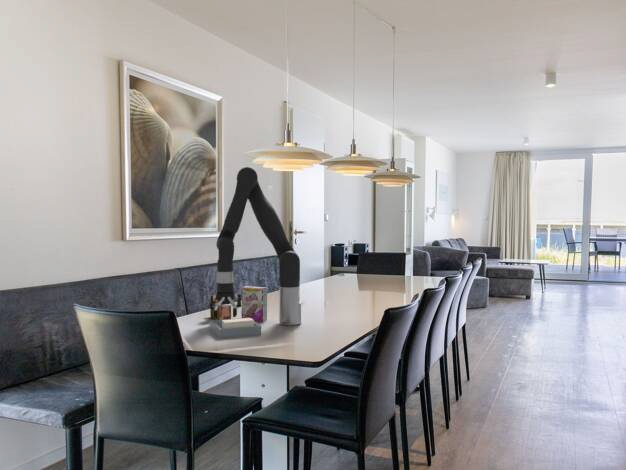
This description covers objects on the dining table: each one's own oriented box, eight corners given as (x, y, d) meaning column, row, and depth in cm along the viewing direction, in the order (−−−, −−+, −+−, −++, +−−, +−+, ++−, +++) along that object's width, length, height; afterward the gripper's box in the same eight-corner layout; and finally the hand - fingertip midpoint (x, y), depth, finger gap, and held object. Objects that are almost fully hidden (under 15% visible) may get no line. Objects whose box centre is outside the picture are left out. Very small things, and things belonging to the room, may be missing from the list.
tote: (248, 327, 225) (248, 317, 225) (261, 336, 208) (261, 326, 208) (210, 331, 218) (210, 320, 218) (220, 341, 201) (219, 329, 201)
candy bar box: (240, 322, 236) (240, 287, 235) (245, 320, 240) (245, 285, 240) (262, 324, 232) (262, 288, 231) (267, 322, 237) (267, 287, 236)
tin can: (229, 324, 232) (229, 304, 232) (232, 326, 227) (232, 306, 227) (218, 325, 230) (218, 305, 230) (221, 327, 225) (221, 306, 225)
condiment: (226, 319, 243) (226, 294, 243) (209, 321, 239) (209, 295, 238) (220, 316, 249) (220, 292, 249) (203, 318, 245) (203, 293, 244)
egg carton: (250, 331, 214) (250, 317, 213) (254, 334, 209) (254, 320, 209) (221, 334, 209) (221, 320, 209) (224, 336, 204) (224, 322, 204)
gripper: (211, 283, 222) (211, 320, 222) (243, 281, 227) (242, 318, 228) (207, 281, 229) (207, 317, 229) (238, 279, 234) (238, 314, 235)
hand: (225, 317), depth 229 cm, fingers open, 8 cm apart
